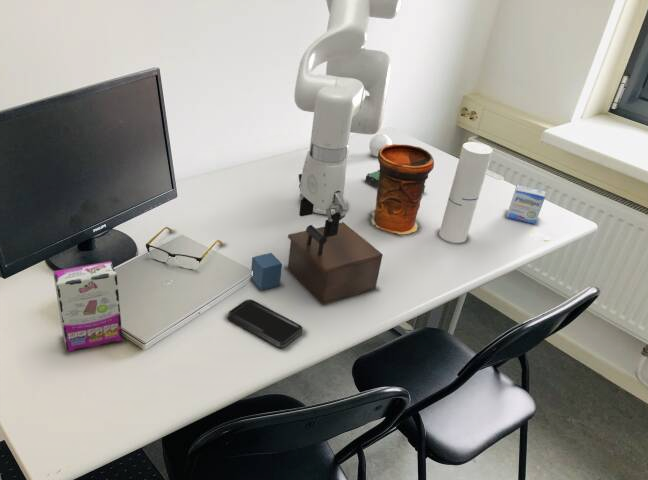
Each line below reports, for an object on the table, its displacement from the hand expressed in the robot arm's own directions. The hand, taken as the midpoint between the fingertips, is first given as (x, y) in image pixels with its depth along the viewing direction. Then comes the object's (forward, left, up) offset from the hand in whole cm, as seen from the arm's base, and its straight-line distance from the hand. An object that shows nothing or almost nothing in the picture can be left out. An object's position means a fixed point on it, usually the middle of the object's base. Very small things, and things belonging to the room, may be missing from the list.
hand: (317, 225), depth 142 cm
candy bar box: (-1, -51, -16) cm, 53 cm away
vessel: (-16, +37, -16) cm, 44 cm away
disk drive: (-33, +51, -16) cm, 63 cm away
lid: (0, +6, -7) cm, 9 cm away
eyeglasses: (-24, -21, -16) cm, 36 cm away
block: (-5, -9, -16) cm, 19 cm away
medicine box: (-4, +74, -16) cm, 76 cm away
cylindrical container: (-4, +48, -16) cm, 51 cm away
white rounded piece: (-52, +61, -16) cm, 82 cm away
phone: (+9, -17, -16) cm, 25 cm away
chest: (0, +6, -16) cm, 17 cm away
